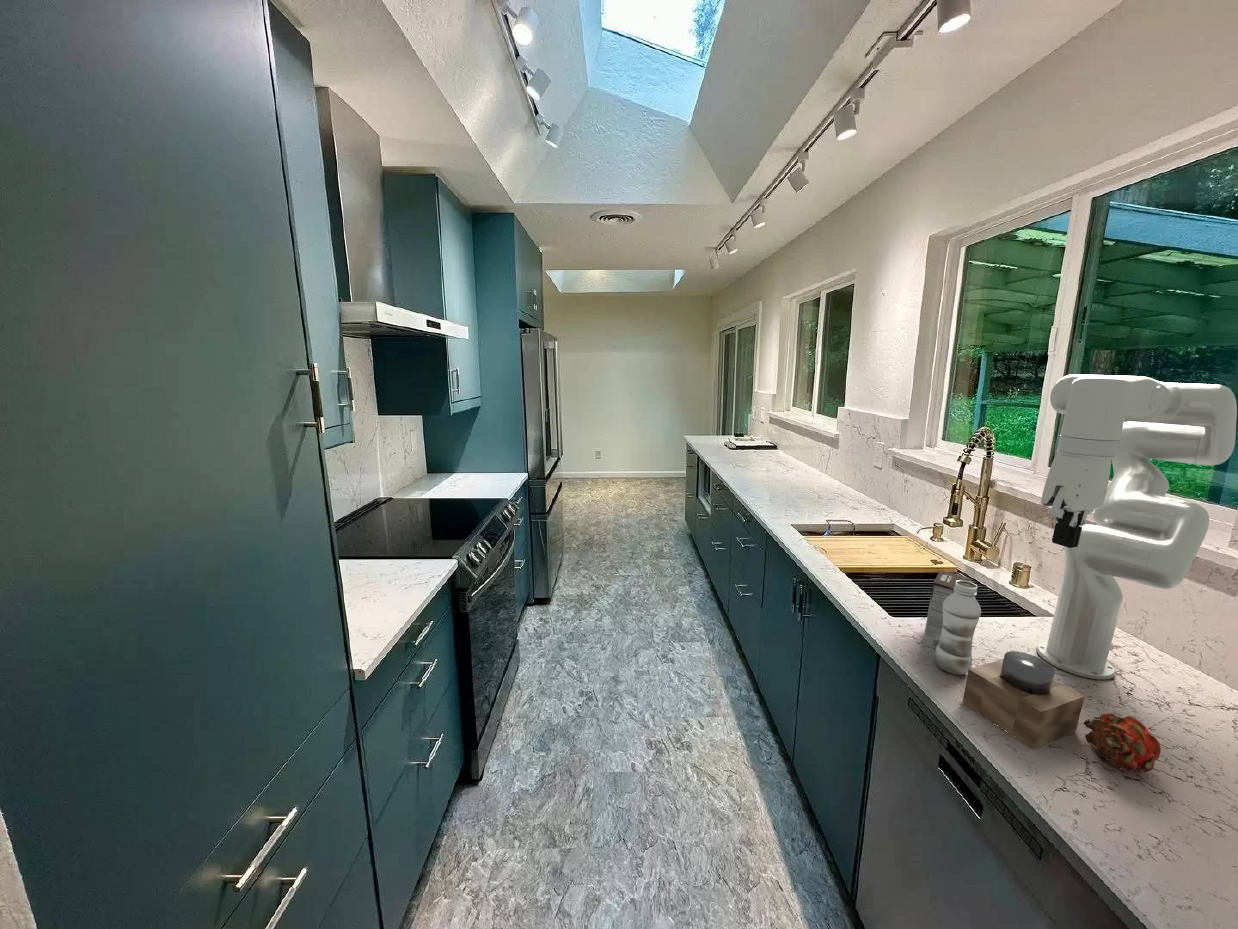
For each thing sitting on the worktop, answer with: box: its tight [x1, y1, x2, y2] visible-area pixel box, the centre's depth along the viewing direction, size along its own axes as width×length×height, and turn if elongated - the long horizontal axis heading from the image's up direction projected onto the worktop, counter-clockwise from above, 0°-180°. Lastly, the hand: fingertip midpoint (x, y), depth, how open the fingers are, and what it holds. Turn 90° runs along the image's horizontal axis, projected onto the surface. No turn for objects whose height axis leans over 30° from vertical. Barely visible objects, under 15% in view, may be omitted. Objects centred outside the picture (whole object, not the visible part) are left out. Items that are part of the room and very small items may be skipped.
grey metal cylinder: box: [1001, 650, 1056, 695], centre depth 87 cm, size 7×7×11 cm
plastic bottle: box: [933, 580, 982, 676], centre depth 100 cm, size 6×7×20 cm
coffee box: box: [922, 570, 973, 650], centre depth 110 cm, size 9×6×16 cm
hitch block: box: [961, 658, 1085, 750], centre depth 88 cm, size 12×12×7 cm
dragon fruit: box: [1082, 712, 1162, 773], centre depth 78 cm, size 8×8×12 cm
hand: (1064, 544), depth 87 cm, fingers closed
